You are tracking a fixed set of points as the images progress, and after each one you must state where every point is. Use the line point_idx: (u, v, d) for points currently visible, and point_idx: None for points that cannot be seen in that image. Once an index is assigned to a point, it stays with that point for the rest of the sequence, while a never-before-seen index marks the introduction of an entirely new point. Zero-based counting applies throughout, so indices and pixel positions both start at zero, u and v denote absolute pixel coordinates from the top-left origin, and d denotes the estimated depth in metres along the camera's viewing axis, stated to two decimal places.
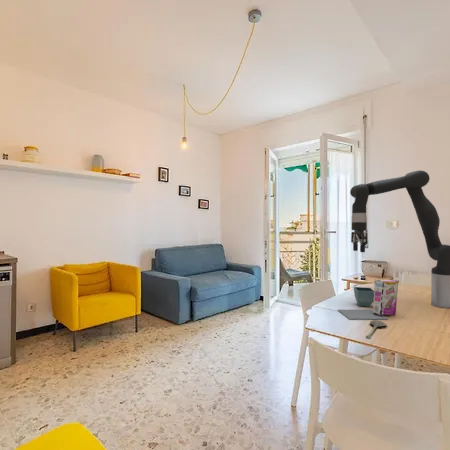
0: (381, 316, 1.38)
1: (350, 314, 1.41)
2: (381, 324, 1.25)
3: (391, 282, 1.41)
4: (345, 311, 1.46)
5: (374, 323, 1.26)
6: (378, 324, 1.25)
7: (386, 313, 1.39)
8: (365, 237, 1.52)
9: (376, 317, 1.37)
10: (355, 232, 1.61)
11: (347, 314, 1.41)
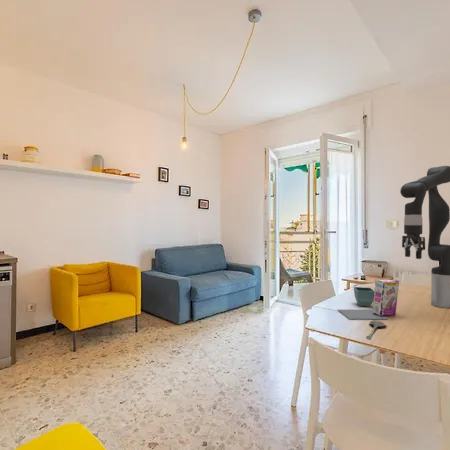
0: (381, 316, 1.38)
1: (350, 314, 1.41)
2: (381, 324, 1.25)
3: (392, 283, 1.40)
4: (345, 311, 1.46)
5: (374, 323, 1.26)
6: (378, 324, 1.25)
7: (386, 313, 1.39)
8: (422, 242, 1.35)
9: (376, 317, 1.37)
10: (408, 236, 1.44)
11: (347, 314, 1.41)
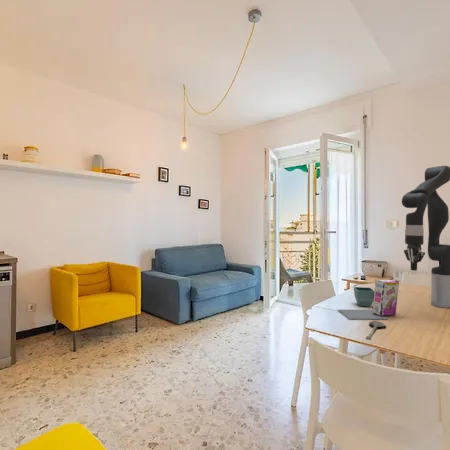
0: (381, 316, 1.38)
1: (350, 314, 1.41)
2: (381, 324, 1.24)
3: (392, 283, 1.40)
4: (345, 311, 1.46)
5: (373, 323, 1.25)
6: (378, 324, 1.24)
7: (386, 313, 1.39)
8: (421, 257, 1.37)
9: (376, 317, 1.37)
10: (409, 246, 1.44)
11: (347, 314, 1.41)
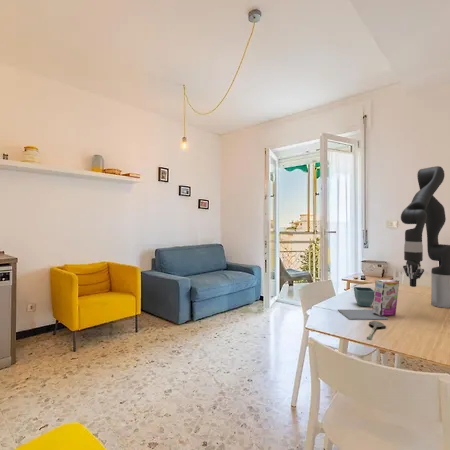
0: (381, 316, 1.38)
1: (350, 314, 1.41)
2: (380, 325, 1.24)
3: (392, 283, 1.40)
4: (345, 311, 1.46)
5: (373, 324, 1.25)
6: (377, 325, 1.24)
7: (386, 313, 1.39)
8: (420, 274, 1.37)
9: (376, 317, 1.37)
10: (408, 262, 1.44)
11: (347, 314, 1.41)
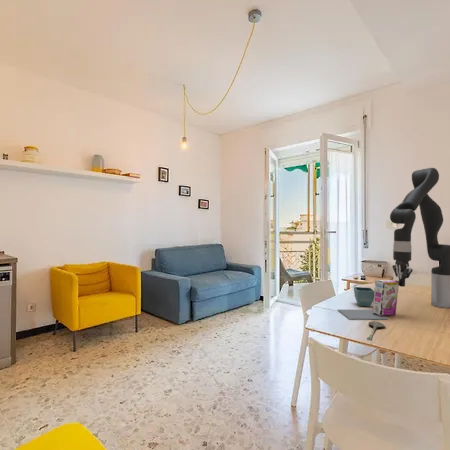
0: (381, 316, 1.38)
1: (350, 314, 1.41)
2: (380, 325, 1.24)
3: (392, 283, 1.40)
4: (345, 311, 1.46)
5: (373, 324, 1.25)
6: (377, 325, 1.24)
7: (386, 313, 1.39)
8: (408, 273, 1.37)
9: (376, 317, 1.37)
10: (397, 262, 1.44)
11: (347, 314, 1.41)
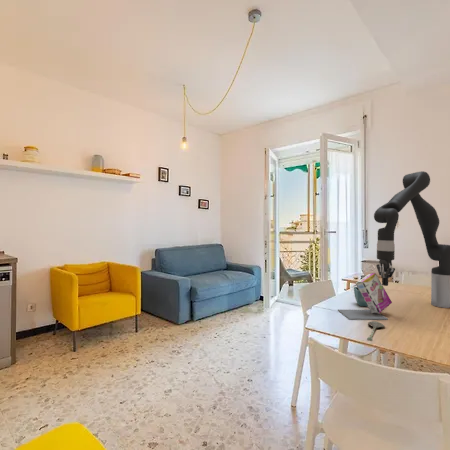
0: (381, 316, 1.38)
1: (350, 314, 1.41)
2: (380, 325, 1.24)
3: (370, 277, 1.43)
4: (345, 311, 1.46)
5: (373, 324, 1.25)
6: (377, 325, 1.24)
7: (383, 307, 1.40)
8: (391, 272, 1.37)
9: (376, 317, 1.37)
10: (381, 261, 1.44)
11: (347, 314, 1.41)
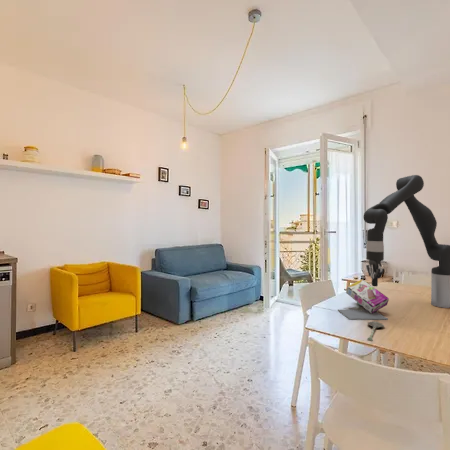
0: (381, 316, 1.38)
1: (350, 314, 1.41)
2: (379, 325, 1.24)
3: (356, 282, 1.54)
4: (345, 311, 1.46)
5: (372, 324, 1.24)
6: (376, 325, 1.24)
7: (377, 302, 1.42)
8: (380, 273, 1.37)
9: (376, 317, 1.37)
10: (370, 262, 1.44)
11: (347, 314, 1.41)
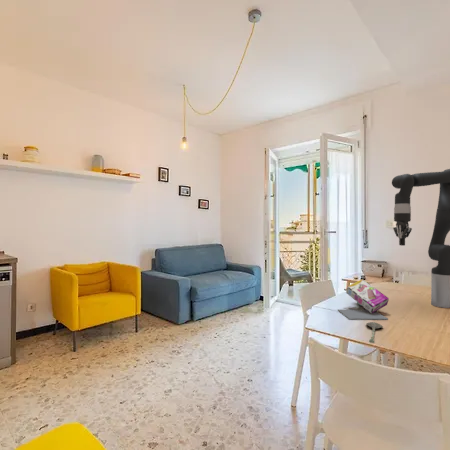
0: (381, 316, 1.38)
1: (350, 314, 1.41)
2: (378, 326, 1.23)
3: (356, 282, 1.54)
4: (345, 311, 1.46)
5: (371, 325, 1.23)
6: (376, 326, 1.23)
7: (377, 302, 1.42)
8: (408, 232, 1.50)
9: (376, 317, 1.37)
10: (398, 223, 1.56)
11: (347, 314, 1.41)
